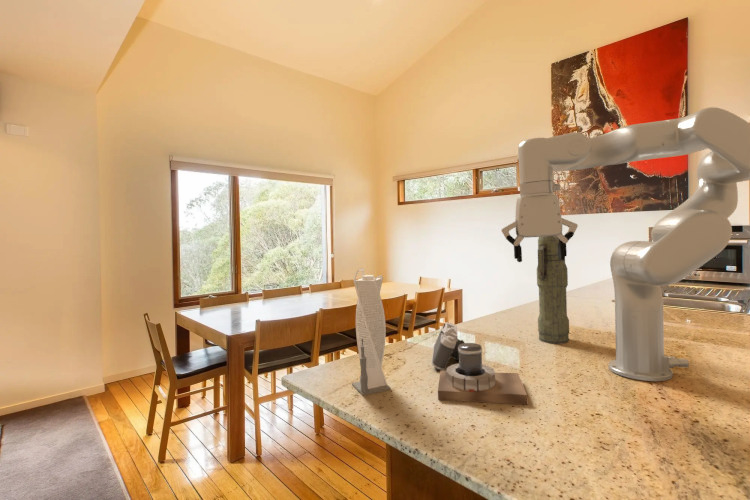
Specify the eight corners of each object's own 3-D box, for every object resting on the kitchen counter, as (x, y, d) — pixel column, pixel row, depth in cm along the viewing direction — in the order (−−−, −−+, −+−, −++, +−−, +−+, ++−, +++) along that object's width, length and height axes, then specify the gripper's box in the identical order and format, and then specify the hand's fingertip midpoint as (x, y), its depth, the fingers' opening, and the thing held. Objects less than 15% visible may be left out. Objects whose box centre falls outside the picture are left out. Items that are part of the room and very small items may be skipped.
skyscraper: (350, 382, 92) (344, 269, 91) (380, 376, 95) (375, 266, 94) (362, 395, 84) (356, 271, 83) (394, 388, 88) (389, 268, 87)
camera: (428, 366, 98) (443, 331, 96) (431, 345, 113) (444, 314, 112) (461, 381, 96) (477, 346, 95) (460, 358, 112) (473, 327, 110)
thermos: (576, 338, 120) (573, 229, 119) (558, 346, 113) (555, 230, 111) (549, 333, 127) (546, 230, 126) (530, 340, 120) (527, 231, 118)
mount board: (518, 381, 88) (517, 363, 88) (527, 404, 77) (526, 383, 76) (440, 378, 92) (440, 360, 92) (438, 399, 81) (437, 379, 80)
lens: (482, 377, 87) (481, 343, 86) (483, 386, 82) (482, 350, 81) (459, 376, 88) (458, 342, 88) (459, 385, 83) (457, 349, 83)
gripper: (570, 189, 93) (573, 257, 94) (497, 195, 97) (501, 261, 98) (580, 185, 86) (583, 260, 87) (501, 192, 90) (505, 263, 90)
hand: (540, 260), depth 92 cm, fingers open, 9 cm apart
